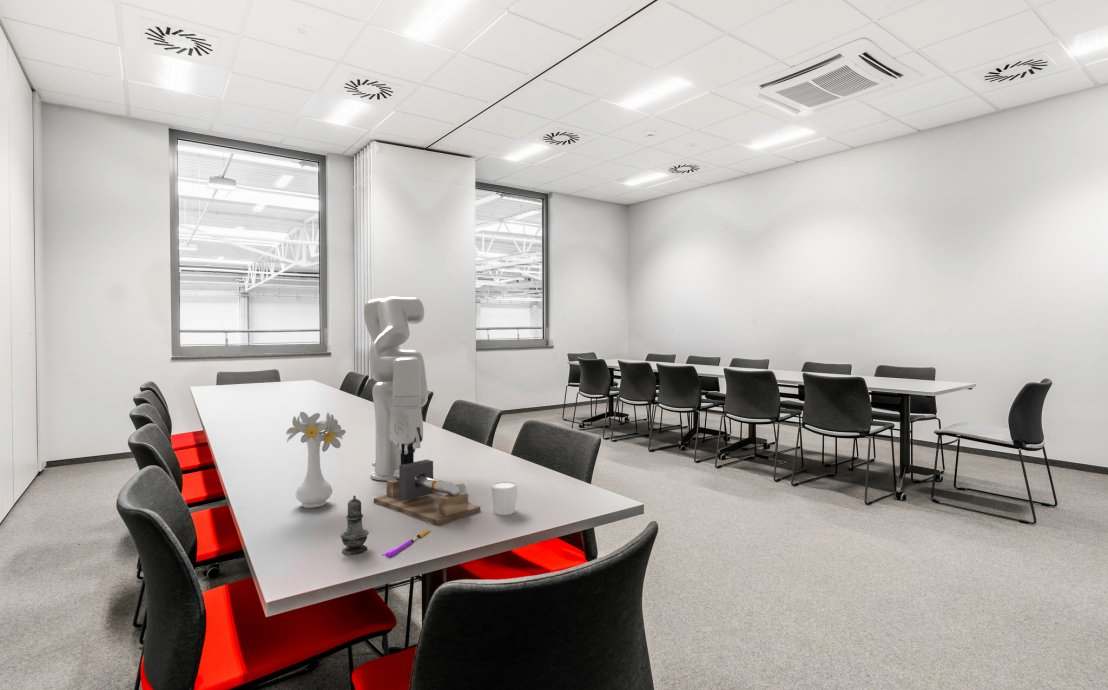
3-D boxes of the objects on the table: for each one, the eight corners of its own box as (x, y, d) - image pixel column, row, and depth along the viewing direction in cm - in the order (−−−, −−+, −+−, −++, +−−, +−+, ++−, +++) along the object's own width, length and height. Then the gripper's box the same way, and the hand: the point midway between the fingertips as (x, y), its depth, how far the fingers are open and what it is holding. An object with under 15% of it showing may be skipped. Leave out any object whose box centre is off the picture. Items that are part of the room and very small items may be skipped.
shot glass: (510, 517, 139) (510, 490, 139) (486, 513, 142) (486, 487, 142) (521, 509, 146) (521, 483, 146) (498, 506, 148) (498, 480, 148)
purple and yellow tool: (391, 558, 114) (431, 532, 129) (389, 552, 114) (430, 527, 129) (380, 559, 115) (422, 533, 130) (379, 554, 115) (421, 528, 130)
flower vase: (321, 517, 139) (320, 419, 138) (273, 506, 147) (272, 414, 146) (360, 502, 150) (359, 412, 150) (313, 493, 159) (313, 408, 158)
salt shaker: (352, 557, 114) (351, 501, 114) (334, 551, 117) (334, 496, 117) (374, 548, 119) (374, 494, 119) (357, 542, 122) (356, 489, 122)
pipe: (393, 479, 155) (393, 470, 154) (401, 477, 157) (401, 468, 157) (453, 497, 138) (453, 487, 138) (461, 495, 140) (461, 484, 140)
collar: (399, 498, 147) (399, 465, 147) (426, 490, 154) (426, 459, 154) (406, 500, 146) (405, 467, 145) (433, 493, 152) (433, 461, 152)
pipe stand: (373, 502, 151) (373, 482, 151) (415, 491, 162) (415, 472, 162) (437, 525, 133) (437, 503, 133) (480, 511, 144) (480, 490, 144)
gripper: (379, 401, 154) (380, 465, 154) (411, 405, 144) (412, 474, 145) (402, 398, 160) (402, 460, 160) (434, 402, 150) (434, 469, 150)
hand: (407, 467), depth 152 cm, fingers closed
